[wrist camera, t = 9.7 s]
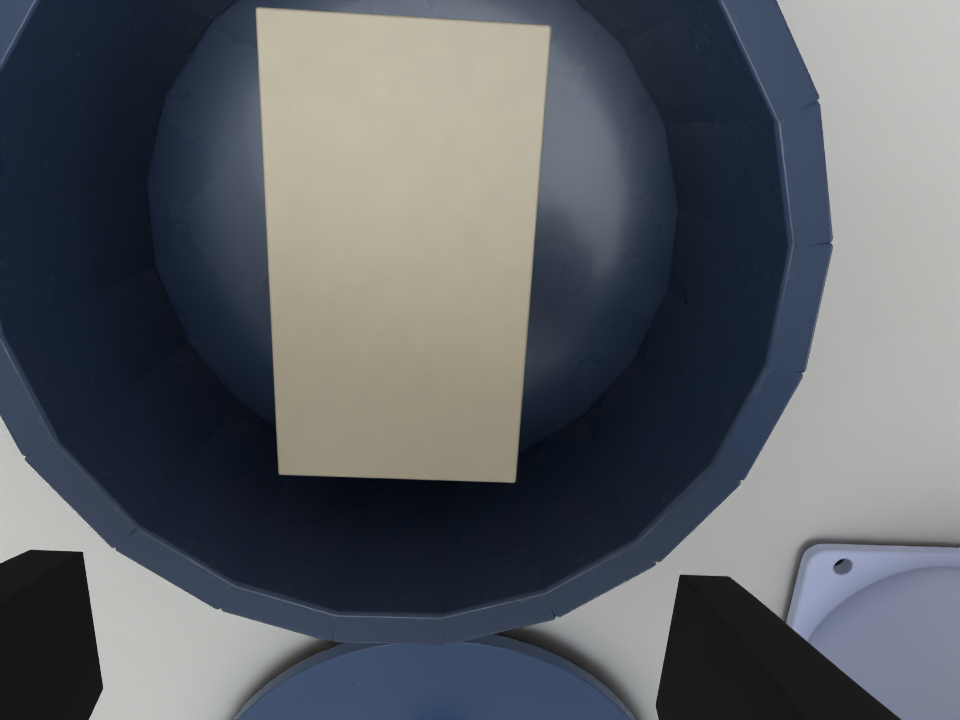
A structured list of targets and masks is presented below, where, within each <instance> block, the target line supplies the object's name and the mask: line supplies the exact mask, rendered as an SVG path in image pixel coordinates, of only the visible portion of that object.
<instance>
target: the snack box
mask: <svg viewBox="0 0 960 720" xmlns="http://www.w3.org/2000/svg"><path fill="white" fill-rule="evenodd" d="M256 29H257V49H258V70H259V90H260V110H261V130H262V150H263V171H264V191H265V211H266V231H267V252H268V272H269V292H270V312H271V332H272V353H273V373H274V393H275V413H276V433H277V454H278V472H279V474H280V475H302V476H332V477H361V478H390V479H420V480H449V481H478V482H507V483H514V482H515V481H516V474H517V461H518V448H519V436H520V423H521V410H522V398H523V385H524V372H525V360H526V347H527V334H528V321H529V309H530V296H531V283H532V271H533V258H534V245H535V233H536V220H537V207H538V194H539V182H540V169H541V156H542V144H543V131H544V118H545V106H546V93H547V80H548V67H549V55H550V42H551V26H549V25H539V24H523V23H507V22H491V21H475V20H459V19H443V18H427V17H411V16H395V15H379V14H363V13H347V12H331V11H315V10H299V9H283V8H267V7H257V8H256Z"/></svg>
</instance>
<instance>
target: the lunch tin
mask: <svg viewBox="0 0 960 720" xmlns="http://www.w3.org/2000/svg"><path fill="white" fill-rule="evenodd" d="M257 7H267V8H283V9H299V10H315V11H331V12H347V13H363V14H379V15H395V16H411V17H427V18H443V19H459V20H475V21H491V22H507V23H523V24H539V25H549V26H551V42H550V55H549V67H548V80H547V93H546V106H545V118H544V131H543V144H542V156H541V169H540V182H539V194H538V207H537V220H536V233H535V245H534V258H533V271H532V283H531V296H530V309H529V321H528V334H527V347H526V360H525V372H524V385H523V398H522V410H521V423H520V436H519V448H518V461H517V474H516V481H515V482H514V483H507V482H478V481H449V480H420V479H390V478H361V477H332V476H302V475H280V474H279V472H278V454H277V433H276V413H275V393H274V373H273V353H272V332H271V312H270V292H269V272H268V252H267V231H266V211H265V191H264V171H263V150H262V130H261V110H260V90H259V70H258V49H257V29H256V8H257ZM818 99H819V95H818V93H817V90H816V88H815V86H814V84H813V81H812V79H811V77H810V75H809V73H808V70H807V68H806V66H805V64H804V61H803V59H802V57H801V55H800V52H799V50H798V48H797V46H796V43H795V41H794V39H793V37H792V34H791V32H790V30H789V28H788V25H787V23H786V21H785V19H784V16H783V14H782V12H781V10H780V7H779V5H778V3H777V1H776V0H0V416H1V417H2V419H3V421H4V423H5V425H6V426H7V428H8V430H9V432H10V434H11V436H12V437H13V439H14V441H15V443H16V445H17V446H18V448H19V450H20V452H21V454H22V455H24V456H26V457H25V460H26V461H27V463H28V464H29V465H30V466H31V467H32V468H33V469H34V470H35V471H36V472H37V473H38V474H39V475H40V476H41V477H42V478H43V479H44V480H45V481H46V482H47V483H48V484H49V485H50V486H51V487H52V488H53V489H54V490H55V491H56V492H57V493H58V494H59V495H60V496H61V497H62V498H63V499H64V500H65V501H66V502H67V503H68V504H69V505H70V506H71V507H72V508H73V509H74V510H75V511H76V512H77V513H78V514H79V515H80V516H81V517H82V518H83V519H84V520H85V521H86V522H87V523H88V524H89V525H90V526H91V527H92V528H93V529H94V530H95V531H96V532H97V533H98V534H99V535H100V536H101V537H102V538H103V539H104V540H105V541H106V542H107V543H108V544H109V545H110V546H111V547H112V548H115V547H116V550H117V551H118V552H120V553H121V554H123V555H125V556H126V557H128V558H130V559H131V560H133V561H135V562H137V563H138V564H140V565H142V566H143V567H145V568H147V569H149V570H150V571H152V572H154V573H155V574H157V575H159V576H161V577H162V578H164V579H166V580H167V581H169V582H171V583H172V584H174V585H176V586H178V587H179V588H181V589H183V590H184V591H186V592H188V593H190V594H191V595H193V596H195V597H196V598H198V599H200V600H202V601H203V602H205V603H207V604H208V605H210V606H212V607H213V608H215V609H220V608H221V610H222V611H224V612H227V613H231V614H234V615H238V616H241V617H245V618H248V619H252V620H255V621H259V622H262V623H266V624H269V625H273V626H276V627H280V628H284V629H287V630H291V631H294V632H298V633H301V634H305V635H308V636H312V637H315V638H319V639H322V640H326V641H331V640H332V639H333V640H334V642H343V643H386V644H429V645H443V644H445V643H446V642H447V643H448V644H453V643H458V642H462V641H466V640H470V639H475V638H479V637H483V636H487V635H491V634H496V633H500V632H504V631H508V630H513V629H517V628H521V627H525V626H530V625H534V624H538V623H542V622H546V621H551V620H554V619H555V618H556V616H557V617H561V616H563V615H565V614H567V613H569V612H570V611H572V610H574V609H576V608H578V607H580V606H582V605H583V604H585V603H587V602H589V601H591V600H593V599H595V598H596V597H598V596H600V595H602V594H604V593H606V592H607V591H609V590H611V589H613V588H615V587H617V586H619V585H620V584H622V583H624V582H626V581H628V580H630V579H632V578H633V577H635V576H637V575H639V574H641V573H643V572H644V571H646V570H648V569H650V568H652V567H654V566H655V565H656V562H660V561H662V560H663V559H664V558H665V557H666V556H667V555H668V554H669V553H670V552H671V551H672V550H673V549H674V548H675V547H676V546H677V545H678V544H679V543H680V542H681V541H682V540H683V539H684V538H686V537H687V536H688V535H689V534H690V533H691V532H692V531H693V530H694V529H695V528H696V527H697V526H698V525H699V524H700V523H701V522H702V521H703V520H704V519H705V518H706V517H707V516H708V515H709V514H710V513H711V512H712V511H713V510H714V509H715V508H717V507H718V506H719V505H720V504H721V503H722V502H723V501H724V500H725V499H726V498H727V497H728V496H729V495H730V494H731V493H732V492H733V491H734V490H735V489H736V488H737V487H738V486H739V485H740V483H741V481H740V480H744V479H745V478H746V476H747V474H748V473H749V471H750V469H751V467H752V466H753V464H754V462H755V460H756V458H757V457H758V455H759V453H760V451H761V450H762V448H763V446H764V444H765V443H766V441H767V439H768V437H769V436H770V434H771V432H772V430H773V429H774V427H775V425H776V423H777V421H778V420H779V418H780V416H781V414H782V413H783V411H784V409H785V407H786V406H787V404H788V402H789V400H790V399H791V397H792V395H793V393H794V391H795V390H796V388H797V386H798V384H799V383H800V381H801V379H802V377H803V374H802V373H803V372H805V370H806V367H807V362H808V358H809V353H810V349H811V344H812V339H813V335H814V330H815V326H816V321H817V317H818V312H819V308H820V303H821V299H822V294H823V290H824V285H825V281H826V276H827V272H828V267H829V263H830V258H831V254H832V249H833V245H832V244H831V243H830V242H832V239H833V236H832V225H831V215H830V204H829V194H828V183H827V173H826V162H825V151H824V141H823V130H822V120H821V109H820V104H819V102H817V100H818Z"/></svg>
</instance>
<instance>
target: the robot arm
mask: <svg viewBox="0 0 960 720" xmlns="http://www.w3.org/2000/svg"><path fill="white" fill-rule="evenodd" d="M840 559H844V560H843V562H842V563H841V564H839V565H837V566H834V565H835V563H836V562H837V561H839V560H840ZM102 690H103V684H102V677H101V671H100V664H99V657H98V651H97V644H96V637H95V631H94V624H93V617H92V611H91V604H90V597H89V590H88V584H87V577H86V570H85V564H84V557H83V552H73V551H47V550H29V551H27V552H25V553H22V554H20V555H18V556H16V557H13V558H11V559H9V560H7V561H5V562H3V563H0V720H89V718H90V716H91V714H92V712H93V709H94V707H95V705H96V703H97V701H98V699H99V696H100V694H101V692H102ZM656 709H657V713H658V718H659V720H960V548H956V547H922V546H889V545H856V544H816V545H814V546H812V547H810V548H808V549H807V550H806V551H805V552H804V554H803V556H802V559H801V563H800V567H799V571H798V575H797V580H796V584H795V588H794V592H793V596H792V600H791V604H790V608H789V613H788V617H787V621H786V623H785V622H784V621H783V620H781V619H780V618H779V617H778V616H777V615H776V614H774V613H773V612H772V611H771V610H770V609H768V608H767V607H766V606H765V605H764V604H763V603H761V602H760V601H759V600H758V599H756V598H755V597H754V596H753V595H752V594H750V593H749V592H748V591H747V590H745V589H744V588H743V587H742V586H740V585H739V584H738V583H736V582H735V581H734V580H733V579H731V578H730V577H726V576H700V575H680V577H679V583H678V588H677V593H676V599H675V604H674V610H673V615H672V620H671V626H670V631H669V636H668V642H667V647H666V653H665V658H664V663H663V669H662V674H661V680H660V685H659V690H658V696H657V701H656Z"/></svg>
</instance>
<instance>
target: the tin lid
mask: <svg viewBox="0 0 960 720" xmlns="http://www.w3.org/2000/svg"><path fill="white" fill-rule="evenodd" d="M233 720H636V719H635V718H634V716H633V715H632V713H631V712H630V710H629V709H628V708H627V707H626V706H625V705H624V704H623V703H622V702H621V701H620V700H619V699H618V697H617V696H616V695H615V694H614V693H613V692H612V691H611V690H610V689H609V688H607V687H606V686H605V685H604V684H602V683H601V682H600V681H599V680H597V679H596V678H595V677H594V676H592V675H591V674H590V673H588V672H587V671H585V670H583V669H582V668H580V667H578V666H577V665H575V664H573V663H572V662H570V661H568V660H567V659H565V658H563V657H560V656H558V655H556V654H554V653H551V652H549V651H547V650H545V649H542V648H540V647H538V646H535V645H531V644H528V643H525V642H522V641H518V640H515V639H512V638H509V637H504V636H499V635H493V634H491V635H487V636H483V637H479V638H475V639H470V640H466V641H462V642H458V643H453V644H448V643H447V642H446V643H445V644H443V645H429V644H386V643H343V644H340V645H337V646H335V647H332V648H329V649H327V650H324V651H321V652H319V653H316V654H314V655H313V656H311V657H309V658H307V659H305V660H303V661H301V662H299V663H297V664H295V665H293V666H291V667H290V668H288V669H287V670H286V671H284V672H283V673H281V674H280V675H278V676H277V677H275V678H274V679H273V680H271V681H270V682H268V683H267V684H266V685H265V686H264V687H263V688H262V689H260V690H259V691H258V692H257V693H256V694H255V695H254V696H253V697H252V698H251V699H250V700H249V701H247V702H246V704H245V705H244V706H243V707H242V709H241V710H240V711H239V712H238V714H237V715H236V716H235V717H234V719H233Z"/></svg>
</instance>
